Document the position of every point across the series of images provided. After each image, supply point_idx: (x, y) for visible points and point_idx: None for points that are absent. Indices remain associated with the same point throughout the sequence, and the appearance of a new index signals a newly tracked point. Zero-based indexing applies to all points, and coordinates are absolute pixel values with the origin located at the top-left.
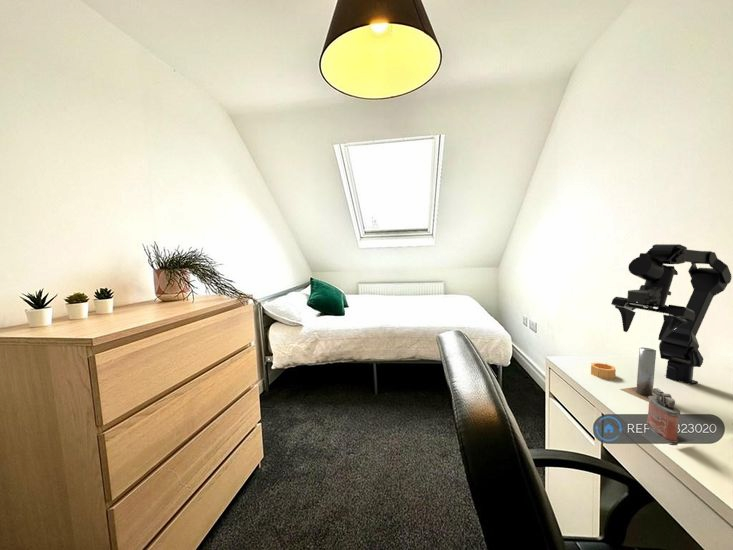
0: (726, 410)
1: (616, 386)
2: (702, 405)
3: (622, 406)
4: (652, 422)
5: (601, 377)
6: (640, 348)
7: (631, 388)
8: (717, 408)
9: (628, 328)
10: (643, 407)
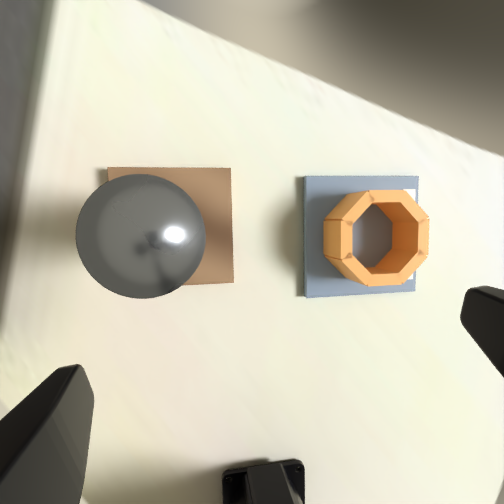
0: None
1: (273, 207)
2: None
3: (115, 49)
4: None
5: (341, 201)
6: (182, 199)
7: (225, 223)
8: None
9: (500, 362)
10: (92, 126)
